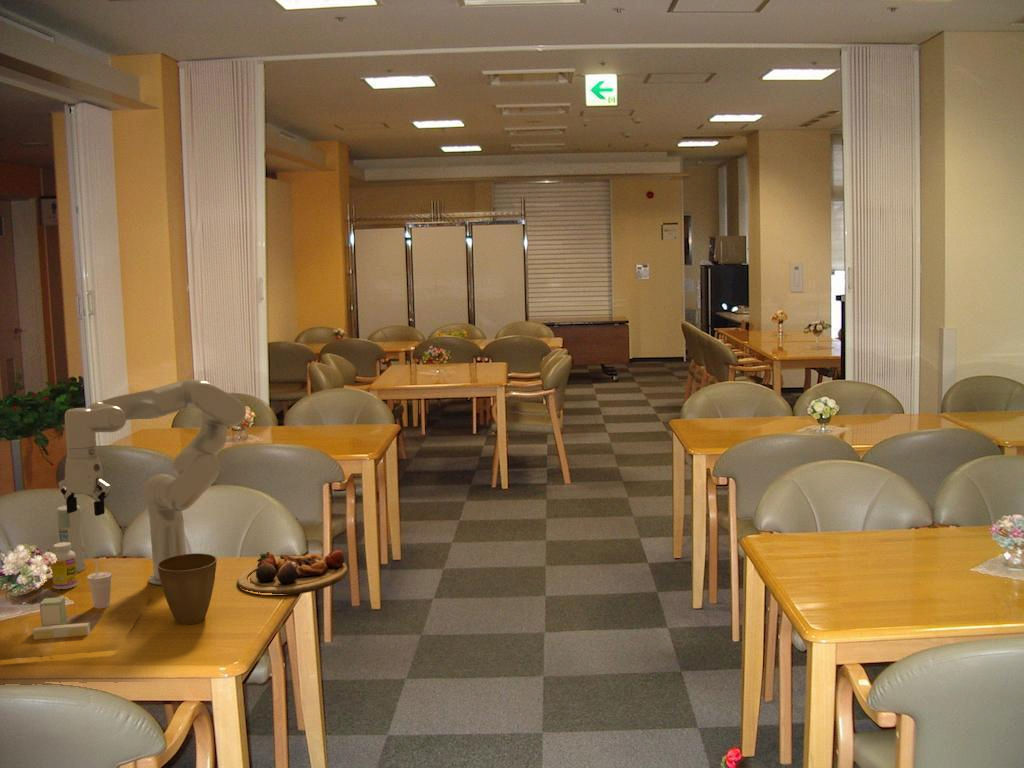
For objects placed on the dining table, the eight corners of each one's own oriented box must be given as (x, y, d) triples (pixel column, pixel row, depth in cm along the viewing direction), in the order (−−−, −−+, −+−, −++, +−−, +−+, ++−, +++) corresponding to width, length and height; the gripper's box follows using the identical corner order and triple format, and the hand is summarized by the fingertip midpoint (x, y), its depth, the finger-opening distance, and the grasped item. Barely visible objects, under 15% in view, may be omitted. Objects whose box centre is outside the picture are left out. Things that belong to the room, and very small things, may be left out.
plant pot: (166, 634, 257) (162, 573, 255) (157, 616, 270) (153, 558, 268) (226, 623, 264) (221, 563, 262) (214, 606, 277) (210, 549, 275)
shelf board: (104, 616, 272) (104, 612, 272) (88, 638, 256) (88, 635, 256) (53, 620, 270) (53, 616, 270) (34, 643, 254) (34, 639, 254)
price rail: (90, 635, 258) (89, 622, 258) (88, 639, 256) (87, 625, 256) (37, 640, 256) (35, 626, 256) (34, 643, 254) (32, 630, 254)
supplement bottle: (68, 590, 294) (64, 548, 292) (48, 590, 295) (44, 547, 294) (82, 583, 300) (78, 541, 299) (63, 582, 302) (59, 540, 300)
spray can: (89, 568, 314) (84, 506, 311) (70, 574, 309) (64, 511, 306) (77, 565, 318) (71, 503, 315) (58, 571, 313) (52, 508, 310)
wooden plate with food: (356, 561, 314) (354, 535, 313) (337, 595, 283) (334, 566, 282) (254, 565, 315) (252, 540, 314) (223, 600, 284) (221, 571, 283)
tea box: (67, 622, 265) (64, 597, 264) (62, 628, 261) (59, 602, 260) (47, 624, 265) (44, 598, 264) (42, 630, 261) (39, 603, 260)
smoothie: (94, 605, 280) (89, 557, 279) (118, 604, 281) (113, 555, 279) (86, 614, 274) (82, 564, 272) (110, 612, 275) (106, 562, 273)
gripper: (116, 452, 280) (120, 512, 282) (67, 448, 286) (71, 508, 288) (96, 456, 273) (100, 518, 275) (47, 453, 279) (51, 514, 281)
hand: (85, 513), depth 282 cm, fingers open, 9 cm apart
